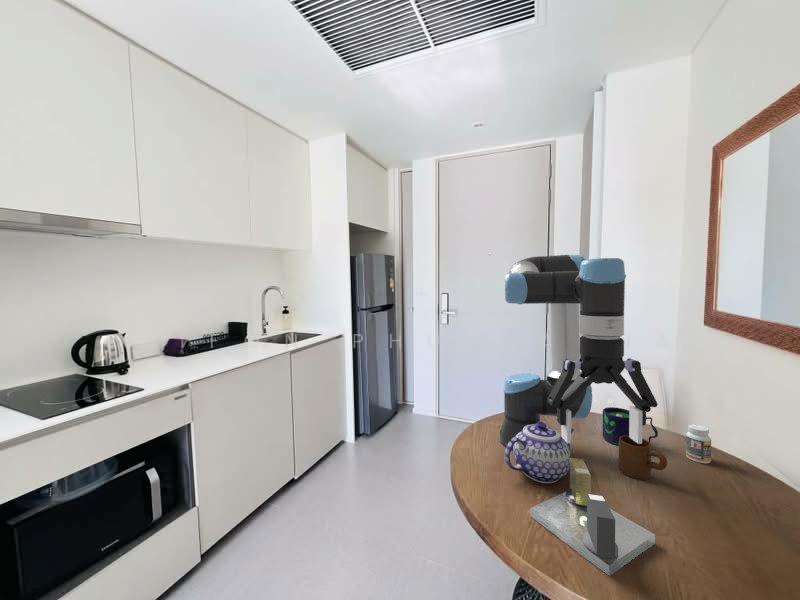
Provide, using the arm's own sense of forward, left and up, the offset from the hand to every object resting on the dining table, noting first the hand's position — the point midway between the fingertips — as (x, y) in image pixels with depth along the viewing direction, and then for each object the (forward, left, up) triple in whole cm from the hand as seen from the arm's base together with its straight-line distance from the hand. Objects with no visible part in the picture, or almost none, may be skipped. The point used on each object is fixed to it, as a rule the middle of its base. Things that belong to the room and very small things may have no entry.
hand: (600, 440), depth 65 cm
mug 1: (-22, +53, -23) cm, 62 cm away
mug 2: (-9, +35, -23) cm, 43 cm away
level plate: (-4, +3, -23) cm, 23 cm away
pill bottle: (-6, +60, -23) cm, 65 cm away
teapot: (-24, +12, -23) cm, 36 cm away
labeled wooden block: (-10, +8, -21) cm, 24 cm away
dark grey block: (+1, -2, -21) cm, 21 cm away
